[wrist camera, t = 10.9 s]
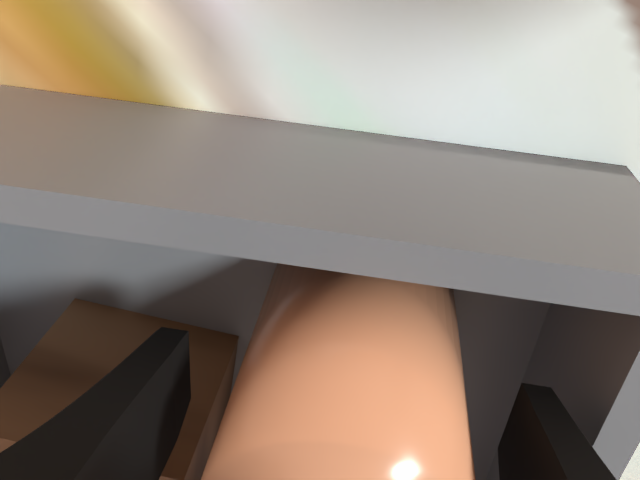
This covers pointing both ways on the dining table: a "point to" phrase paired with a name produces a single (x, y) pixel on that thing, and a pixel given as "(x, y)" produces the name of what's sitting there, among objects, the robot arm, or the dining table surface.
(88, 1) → the dining table surface
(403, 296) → the terracotta cylinder
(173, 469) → the walnut cube
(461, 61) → the dining table surface
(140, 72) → the dining table surface
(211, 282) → the tote
